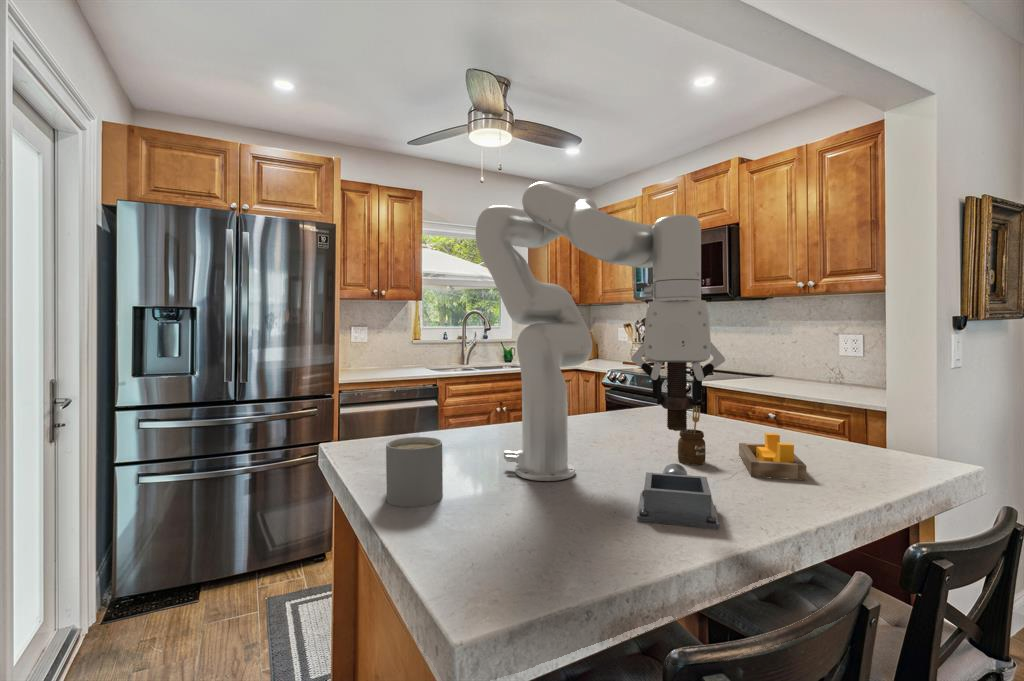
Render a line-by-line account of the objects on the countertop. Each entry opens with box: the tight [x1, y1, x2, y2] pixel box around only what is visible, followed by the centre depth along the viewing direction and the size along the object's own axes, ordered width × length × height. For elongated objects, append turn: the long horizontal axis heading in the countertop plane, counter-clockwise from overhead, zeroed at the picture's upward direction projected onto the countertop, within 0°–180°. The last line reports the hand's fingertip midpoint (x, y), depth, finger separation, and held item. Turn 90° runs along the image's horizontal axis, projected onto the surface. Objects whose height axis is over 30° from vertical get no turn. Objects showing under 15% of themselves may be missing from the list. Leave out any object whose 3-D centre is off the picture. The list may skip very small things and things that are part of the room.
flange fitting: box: [636, 463, 720, 530], centre depth 87 cm, size 12×18×5 cm, turn 163°
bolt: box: [660, 341, 694, 432], centre depth 83 cm, size 6×5×15 cm
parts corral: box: [738, 442, 807, 481], centre depth 110 cm, size 10×18×3 cm, turn 163°
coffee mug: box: [385, 436, 444, 508], centre depth 93 cm, size 13×10×10 cm
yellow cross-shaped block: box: [756, 432, 795, 463], centre depth 110 cm, size 12×4×6 cm, turn 167°
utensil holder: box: [677, 406, 707, 466], centre depth 115 cm, size 6×6×12 cm
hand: (676, 402), depth 83 cm, fingers closed on bolt, 4 cm apart
